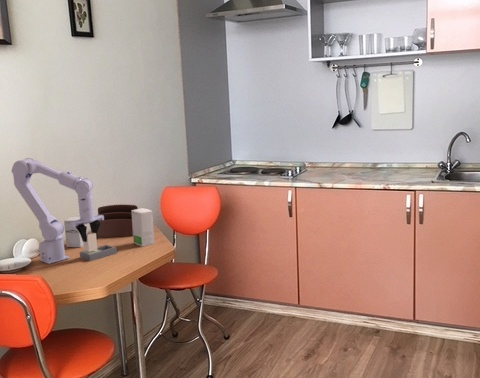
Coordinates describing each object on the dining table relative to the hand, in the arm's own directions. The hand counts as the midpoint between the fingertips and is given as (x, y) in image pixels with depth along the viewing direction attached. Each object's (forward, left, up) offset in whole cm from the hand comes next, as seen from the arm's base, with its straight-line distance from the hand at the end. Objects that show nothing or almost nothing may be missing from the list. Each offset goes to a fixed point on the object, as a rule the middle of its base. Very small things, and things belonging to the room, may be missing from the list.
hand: (89, 240), depth 225 cm
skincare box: (+26, -2, -8) cm, 27 cm away
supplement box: (+7, +23, -8) cm, 25 cm away
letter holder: (+29, +23, -8) cm, 38 cm away
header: (+4, 0, -8) cm, 8 cm away
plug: (0, 0, -4) cm, 4 cm away
